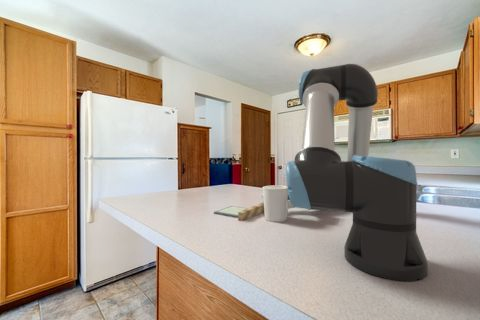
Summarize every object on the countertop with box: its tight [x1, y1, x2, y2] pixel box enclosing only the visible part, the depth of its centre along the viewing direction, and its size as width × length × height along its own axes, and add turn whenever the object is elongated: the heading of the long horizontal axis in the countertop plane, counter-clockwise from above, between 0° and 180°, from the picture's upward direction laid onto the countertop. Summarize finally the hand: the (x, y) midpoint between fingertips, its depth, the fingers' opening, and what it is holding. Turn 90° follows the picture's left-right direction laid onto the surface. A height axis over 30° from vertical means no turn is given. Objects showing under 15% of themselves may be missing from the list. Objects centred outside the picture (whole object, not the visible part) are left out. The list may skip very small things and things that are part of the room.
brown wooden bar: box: [237, 202, 264, 222], centre depth 89 cm, size 20×2×3 cm, turn 146°
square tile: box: [213, 205, 249, 219], centre depth 93 cm, size 13×13×1 cm
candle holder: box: [262, 184, 289, 223], centre depth 83 cm, size 10×10×12 cm
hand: (273, 201), depth 83 cm, fingers open, 13 cm apart
